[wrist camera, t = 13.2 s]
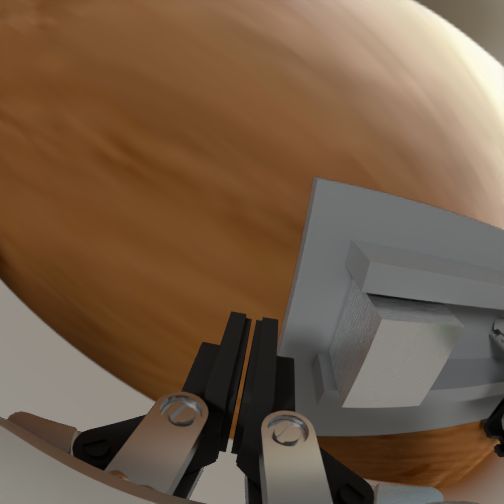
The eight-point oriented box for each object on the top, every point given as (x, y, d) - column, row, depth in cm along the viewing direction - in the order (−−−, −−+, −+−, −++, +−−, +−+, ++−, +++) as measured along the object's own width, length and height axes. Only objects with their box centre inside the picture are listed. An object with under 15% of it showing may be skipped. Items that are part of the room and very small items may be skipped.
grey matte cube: (328, 351, 14) (341, 407, 10) (353, 273, 13) (381, 319, 9) (394, 355, 14) (419, 405, 10) (424, 284, 13) (464, 326, 9)
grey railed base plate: (257, 418, 18) (252, 479, 13) (313, 176, 13) (338, 188, 8) (483, 410, 18) (503, 446, 13) (560, 254, 12) (601, 278, 7)
